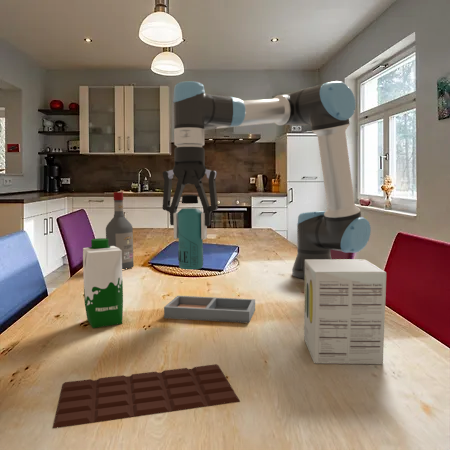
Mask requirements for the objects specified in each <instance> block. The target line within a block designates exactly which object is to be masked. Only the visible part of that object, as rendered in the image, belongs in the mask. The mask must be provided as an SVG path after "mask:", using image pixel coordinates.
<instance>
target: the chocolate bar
mask: <svg viewBox="0 0 450 450" xmlns="http://www.w3.org/2000/svg"><path fill="white" fill-rule="evenodd" d="M240 402H241V401H240V399H239V397H238V395H237V394H236V392H235V391H234V389H233V387H232V386H231V384H230V382H229V380H228V379H227V377H226V375H225V374H224V372H223V371H222V369H221V367H220V366H219V365H218V364H216V363H215V364H208V365H207V364H206V365H200V366H194V367H192V368H187V367H183V368H181V367H180V368H175V369H174V368H173V369H165V370H163V371H160V372H157V371H149V372H141V373H132V374H131V375H129V376H127V375H124V374H123V375H115V376H107V377H105V376H104V377H99V378H97V379H95V380H93V379H91V378H89V379H82V380H81V379H79V380H73V381H72V380H71V381H66V382H63V383H62V385H61V388H60V394H59V399H58V403H57V407H56V412H55V416H54V421H53V426H52V429H57V427H58V428H66V427H72V426H79V425H85V424H87V425H88V424H93V423H100V422H107V421H113V420H114V421H115V420H121V419H122V420H123V419H127V418H128V419H129V418H134V417H142V416H148V415H156V414H163V413H164V414H165V413H169V412H170V413H171V412H177V411H184V410H185V411H186V410H191V409H198V408H206V407H213V406H218V405H219V406H220V405H225V404H232V403H233V404H234V403H240Z"/></svg>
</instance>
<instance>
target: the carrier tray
mask: <svg viewBox="0 0 450 450" xmlns="http://www.w3.org/2000/svg"><path fill="white" fill-rule="evenodd" d="M255 311H256V298H255V299H254V298H236V297H234V298H231V297H216V296H215V297H211V296H192V295H176V296H175V297H174V298H173V299H172V300H170V301H169V302H168V303H167V304H166V305H165V306H164V307H163V318H164V319H174V320H189V321H190V320H192V321H193V320H194V321H206V322H207V321H208V322H224V323H225V322H226V323H243V324H250V323H251V320H252V318H253V315H254V313H255Z"/></svg>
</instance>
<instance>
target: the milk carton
mask: <svg viewBox="0 0 450 450" xmlns="http://www.w3.org/2000/svg"><path fill="white" fill-rule="evenodd" d="M90 242H91V244H90V245H91V246H90V247H89V246H88V247H83V248H82V265H83V266H82V269H83V270H82V271H83V297H84V308H85V309H84V310H85V314H86V320H87V322H88V324H89V325H90V327H91V328H92V329H95V328H96V329H97V328H101V327H102V328H103V327H109V326H117V325H122V324H123V317H124V316H123V312H124V289H123V288H124V285H123V270H122V250H120V249H119V248H117V247H115V246H109V243H108V239H106V237H105V238H103V237H102V238H101V237H100V238H92V239H91V241H90Z"/></svg>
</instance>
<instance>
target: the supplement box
mask: <svg viewBox="0 0 450 450" xmlns="http://www.w3.org/2000/svg"><path fill="white" fill-rule="evenodd" d="M386 293H387V272H386V271H385V270H383V269H382V268H379V267H378V266H377V265H375V264H373V263H372V262H370V261H369V260H367V259H360V258H359V259H358V258H357V259H356V258H355V259H354V258H353V259H350V258H349V259H347V258H346V259H345V258H343V259H341V258H339V259H337V258H335V259H334V258H333V259H305V279H304V304H303V305H304V309H303V310H304V311H303V312H304V313H303V314H304V316H303V319H304V320H303V321H304V322H303V339H304V342H305V344H306V347H307V349H308V352H309V354H310V357H311V359H312V362H313V363H314V364H340V365H341V364H344V365H345V364H346V365H348V364H349V365H351V364H352V365H383V364H384V344H385V343H384V341H385V324H386V323H385V320H386V317H385V315H386V299H387V298H386V297H387V295H386Z"/></svg>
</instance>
